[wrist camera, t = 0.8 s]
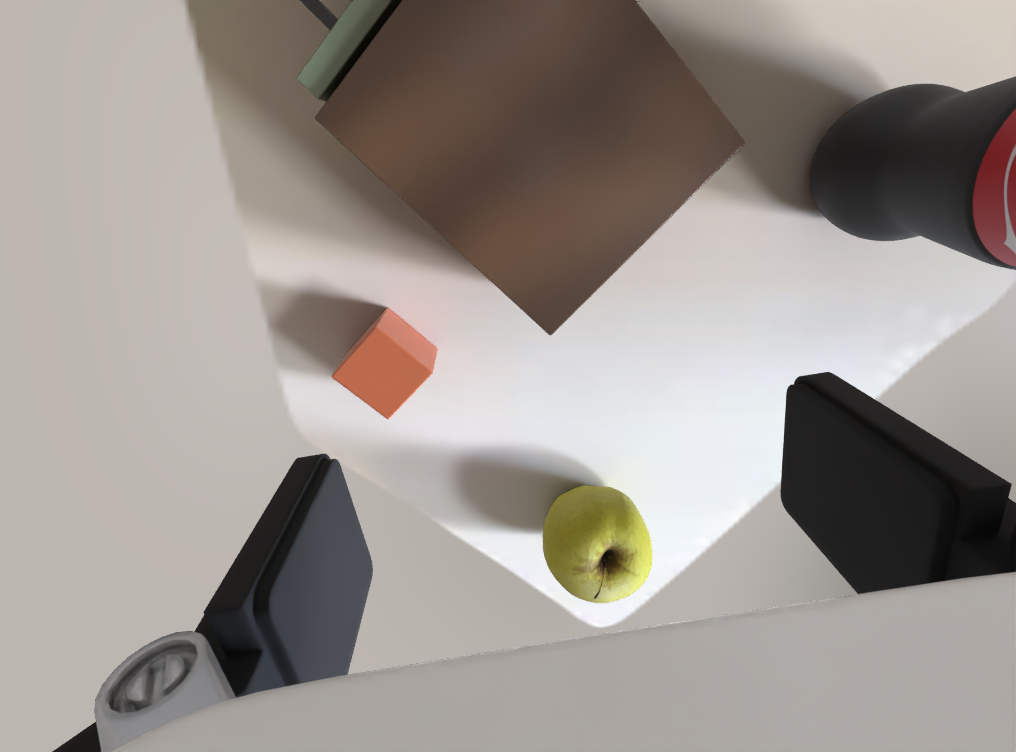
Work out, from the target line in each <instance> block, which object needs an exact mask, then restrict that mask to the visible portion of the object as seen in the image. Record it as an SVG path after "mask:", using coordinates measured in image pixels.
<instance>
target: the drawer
mask: <svg viewBox="0 0 1016 752" xmlns="http://www.w3.org/2000/svg"><path fill="white" fill-rule="evenodd" d="M300 1H301V2H302V3H303V4H304V5H305V6H306V7H307V8H308V9H309V10H310V11H311V12H312V13H313V14H314V15H315V16H316V17H317V18H318V19H319V20H320V21H321V22H322V23H323V24H324V25H325V26H326V27H327V28H328V29H329V30H330V32H329V33H328V35H327V36H326V37H325V39H324V40H323V42H322V43H321V44H320V46H319V47H318V49H317V50H316V51H315V53H314V54H313V56H312V57H311V58H310V60H309V61H308V63H307V64H306V65H305V67H304V68H303V70H302V71H301V72H300V74H299V75H298V77H297V80H298V81H299V82H300V83H301V84H302V85H304V86H305V87H306V88H307V89H308V90H309V91H310V92H311V93H312V94H313V95H314V96H315V97H316V98H317V99H320V100H323V101H325V102H327V101H328V99H329V98H330V97H331V95H332V94H333V93H334V91H335V90H336V89H337V87H338V86H339V85H340V83H341V82H342V81H343V79H344V78H345V76H346V75H347V74H348V72H349V71H350V70H351V68H352V67H353V66H354V64H355V63H356V62H357V60H358V59H359V58H360V56H361V55H362V54H363V52H364V51H365V50H366V48H367V47H368V46H369V44H370V43H371V42H372V40H373V39H374V38H375V36H376V35H377V34H378V32H379V31H380V30H381V28H382V27H383V25H384V24H385V23H386V21H387V20H388V19H389V17H390V16H391V15H392V13H393V12H394V11H395V9H396V8H397V7H398V5H399V4H400V3H401V1H402V0H352V1H351V3H350V4H349V5H348V7H347V8H346V10H345V11H344V12H343V14H342V15H341V17H340V18H339V19H337V18H336V17H335V16H334V15H333V14H332V13H331V12H330V11H329V10H328V9H327V8H326V7H325V6H324V5H323V4H322V3H321V2H320V1H319V0H300Z"/></svg>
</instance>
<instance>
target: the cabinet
mask: <svg viewBox="0 0 1016 752" xmlns="http://www.w3.org/2000/svg"><path fill="white" fill-rule="evenodd" d="M315 119H316V120H317V121H318V122H319V123H320V124H321V125H322V126H323V127H324V128H326V129H327V130H328V131H329V132H330V133H331V134H332V135H333V136H334V137H335V138H336V139H337V140H339V141H340V142H341V143H342V144H343V145H344V146H345V147H346V148H347V149H348V150H349V151H350V152H352V153H353V154H354V155H355V156H356V157H357V158H358V159H359V160H360V161H361V162H362V163H363V164H365V165H366V166H367V167H368V168H369V169H370V170H371V171H372V172H373V173H374V174H375V175H376V176H378V177H379V178H380V179H381V180H382V181H383V182H384V183H385V184H386V185H387V186H388V187H389V188H391V189H392V190H393V191H394V192H395V193H396V194H397V195H398V196H399V197H400V198H401V199H402V200H404V201H405V202H406V203H407V204H408V205H409V206H410V207H411V208H412V209H413V210H414V211H415V212H417V213H418V214H419V215H420V216H421V217H422V218H423V219H424V220H425V221H426V222H427V223H428V224H430V225H431V226H432V227H433V228H434V229H435V230H436V231H437V232H438V233H439V234H440V235H441V236H443V237H444V238H445V239H446V240H447V241H448V242H449V243H450V244H451V245H452V246H453V247H454V248H456V249H457V250H458V251H459V252H460V253H461V254H462V255H463V256H464V257H465V258H466V259H467V260H469V261H470V262H471V263H472V264H473V265H474V266H475V267H476V268H477V269H478V270H479V271H480V272H482V273H483V274H484V275H485V276H486V277H487V278H488V279H489V280H490V281H491V282H492V283H493V284H495V285H496V286H497V287H498V288H499V289H500V290H501V291H502V292H503V293H504V294H505V295H506V296H508V297H509V298H510V299H511V300H512V301H513V302H514V303H515V304H516V305H517V306H518V307H519V308H521V309H522V310H523V311H524V312H525V313H526V314H527V315H528V316H529V317H530V318H531V319H532V320H534V321H535V322H536V323H537V324H538V325H539V326H540V327H541V328H542V329H543V330H544V331H545V332H547V333H548V334H549V335H552V334H553V333H554V332H555V331H556V330H557V329H558V328H559V327H560V326H561V325H562V324H563V323H564V322H565V321H566V320H567V319H568V318H569V317H570V316H571V315H572V314H573V313H574V312H575V311H576V310H577V309H578V308H579V307H580V306H581V305H582V304H583V303H584V302H585V301H586V300H587V299H588V298H589V297H590V296H591V295H592V294H593V293H594V292H595V291H596V290H597V289H598V288H600V287H601V286H602V285H603V284H604V283H605V282H606V281H607V280H608V279H609V278H610V277H611V276H612V275H613V274H614V273H615V272H616V271H617V270H618V269H619V268H620V267H621V266H622V265H623V264H624V263H625V262H626V261H627V260H628V259H629V258H630V257H631V256H632V255H633V254H634V253H635V252H636V251H637V250H638V249H639V248H640V247H641V246H642V245H643V244H644V243H645V242H646V241H647V240H648V239H649V238H650V237H651V236H652V235H653V234H654V233H655V232H656V231H657V230H658V229H659V228H660V227H661V226H662V225H663V224H664V223H665V222H666V221H667V220H668V219H669V218H670V217H671V216H672V215H673V214H674V213H675V212H676V211H677V210H678V209H679V208H680V207H681V206H682V205H684V204H685V203H686V202H687V201H688V200H689V199H690V198H691V197H692V196H693V195H694V194H695V193H696V192H697V191H698V190H699V189H700V188H701V187H702V186H703V185H704V184H705V183H706V182H707V181H708V180H709V179H710V178H711V177H712V176H713V175H714V174H715V173H716V172H717V171H718V170H719V169H720V168H721V167H722V166H723V165H724V164H725V163H726V162H727V161H728V160H729V159H730V158H731V157H732V156H733V155H734V154H735V153H736V152H737V151H738V150H739V149H740V148H741V147H742V146H743V145H744V144H745V141H744V140H743V138H742V137H741V136H740V135H739V133H738V132H737V131H736V129H735V128H734V127H733V126H732V124H731V123H730V122H729V120H728V119H727V118H726V116H725V115H724V114H723V113H722V111H721V110H720V109H719V107H718V106H717V105H716V104H715V102H714V101H713V100H712V98H711V97H710V96H709V95H708V93H707V92H706V91H705V89H704V88H703V87H702V86H701V84H700V83H699V82H698V80H697V79H696V78H695V77H694V75H693V74H692V73H691V71H690V70H689V69H688V68H687V66H686V65H685V64H684V62H683V61H682V60H681V59H680V57H679V56H678V55H677V53H676V52H675V51H674V50H673V48H672V47H671V46H670V44H669V43H668V42H667V41H666V39H665V38H664V37H663V35H662V34H661V33H660V32H659V30H658V29H657V28H656V26H655V25H654V24H653V23H652V21H651V20H650V19H649V17H648V16H647V15H646V13H645V12H644V11H643V10H642V8H641V7H640V6H639V4H638V3H637V2H636V1H635V0H402V1H401V3H400V4H399V5H398V7H397V8H396V9H395V11H394V12H393V13H392V15H391V16H390V17H389V19H388V20H387V21H386V23H385V24H384V25H383V27H382V28H381V30H380V31H379V32H378V34H377V35H376V36H375V38H374V39H373V40H372V42H371V43H370V44H369V46H368V47H367V48H366V50H365V51H364V52H363V54H362V55H361V56H360V58H359V59H358V60H357V62H356V63H355V64H354V66H353V67H352V68H351V70H350V71H349V72H348V74H347V75H346V76H345V78H344V79H343V81H342V82H341V83H340V85H339V86H338V87H337V89H336V90H335V91H334V93H333V94H332V95H331V97H330V98H329V99H328V101H327V102H326V103H325V105H324V106H323V107H322V109H321V110H320V111H319V113H318V114H317V115H316V117H315Z"/></svg>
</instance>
